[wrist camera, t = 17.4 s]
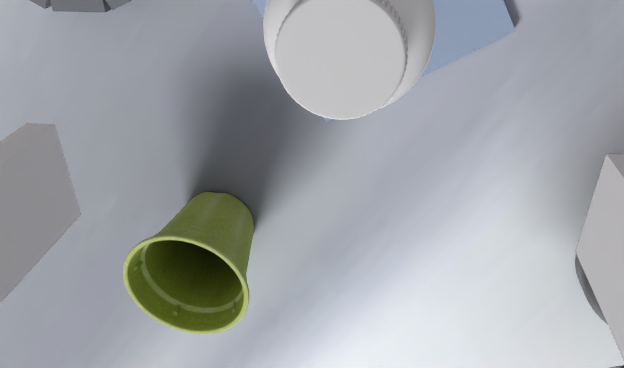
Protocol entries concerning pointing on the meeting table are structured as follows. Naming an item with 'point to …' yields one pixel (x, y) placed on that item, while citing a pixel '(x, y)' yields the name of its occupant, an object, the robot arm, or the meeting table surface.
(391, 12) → the pill bottle
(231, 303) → the plant pot
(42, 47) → the meeting table surface
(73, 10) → the holder ring
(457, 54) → the rubber mat
